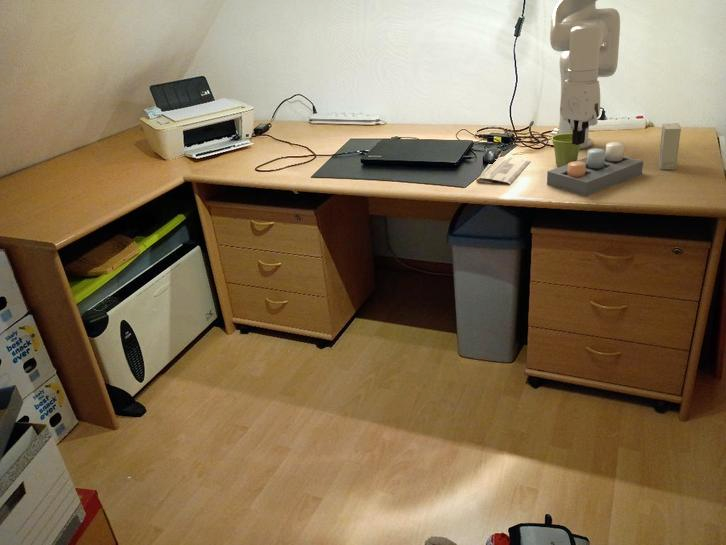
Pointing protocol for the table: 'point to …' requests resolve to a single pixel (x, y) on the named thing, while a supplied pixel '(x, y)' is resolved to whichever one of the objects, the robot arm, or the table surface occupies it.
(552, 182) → the grey egg holder
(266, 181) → the table surface
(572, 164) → the light brown oval
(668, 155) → the skincare box
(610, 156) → the cream white egg
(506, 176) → the newspaper
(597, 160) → the pale blue egg
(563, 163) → the plant pot
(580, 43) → the robot arm
